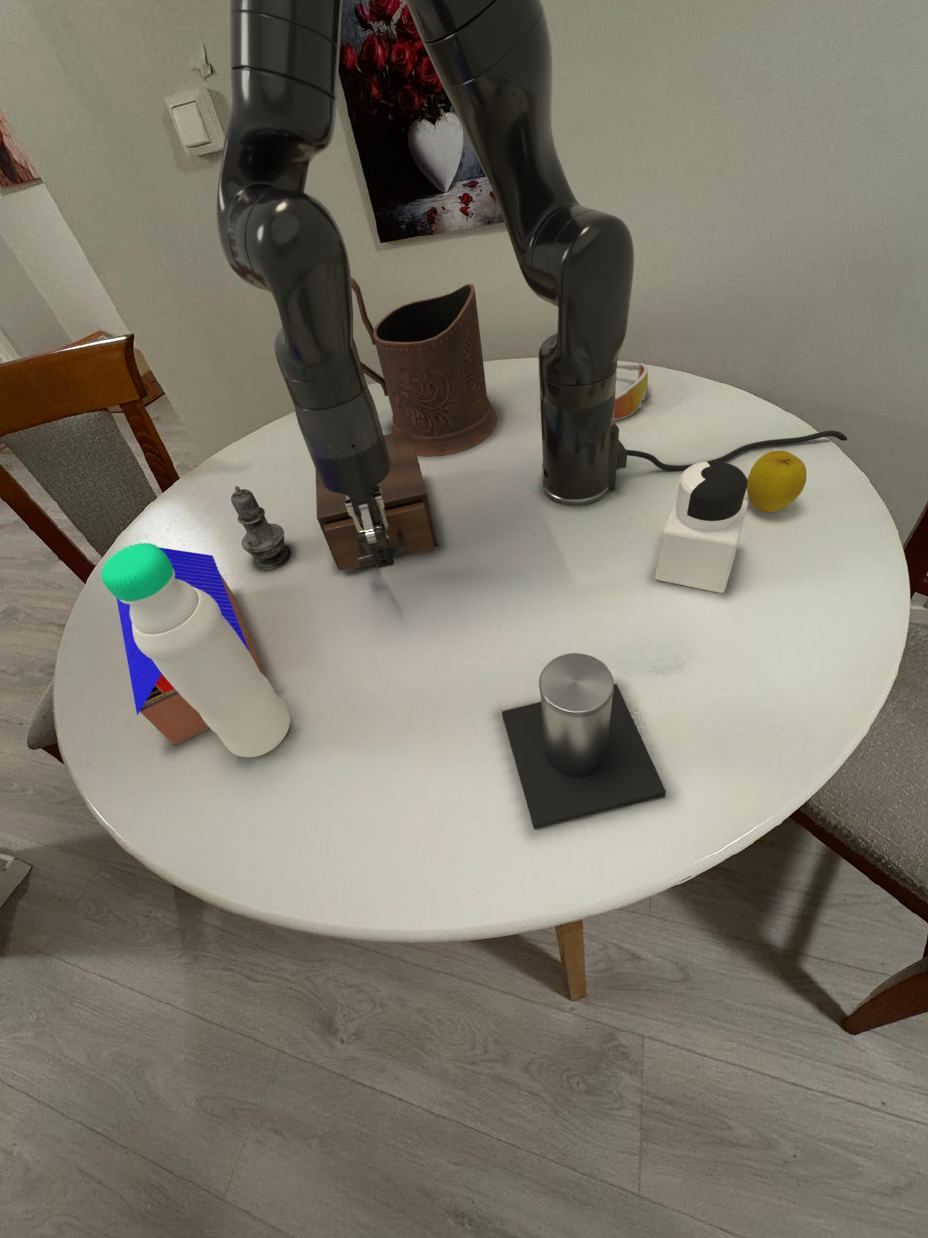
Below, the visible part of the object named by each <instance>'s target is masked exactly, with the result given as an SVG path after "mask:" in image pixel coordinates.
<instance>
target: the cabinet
mask: <svg viewBox="0 0 928 1238" xmlns="http://www.w3.org/2000/svg"><path fill="white" fill-rule="evenodd" d="M383 436H384V439H385V443H386V447H387V450H388V454H389V458H390V461H391V467H390V471H389V473H388V475H387V476H386V478H385V479H384V480H383V481H382V482H381V483H380V485H381V490H382V497H383V501H384V506H385V508H389V507H393V506H397V505H402V504H406V503H410V502H415V501H417V502H418V503H421V502H424V506H425V510H426V514H427V518H428V523H429V527H430V531H431V536H432V540H433V544H434V548H436V547H439V542H438V538H437V533H436V528H435V525H434V524H435V523H434V520H433V515H432V511H431V507H430V502H429V498H428V497H429V496H428V494H427V489H426V485H425V481H424V478H423V473H422V470H421V466H420V465H421V464H420V461H419V457H418V455H417V453H416V450H415V446H414V442H413V438H412V434H411V430H410V429H408V430H404V431H400V432H395V433H391V434H390V433H387V434H383ZM314 469H315V468H314ZM314 471H315V499H316V500H315V501H316V520H317V522H318V524H319V527H320V530H321V532H322V535H323V537H324V538H325V541H326V544H327V546H328V548H329V551H330V554H331V556H332V558H333V561H334V563H335V565H336V568H337V570H340V567H339V565H338V562H337V560H336V558H335V555H334V553H333V550H332V548H331V545H330V543H329V540H328V538H327V536H326V533H325V531H324V525H326V524H330V523H333V522H332V521H333V520H337V519H341V518H346V517H350V515H349V514H348V511H347V509H346V506H345V501H344V500H346V496H345V495H343V494H337V493H334V492H331V491H329V490H327V489H326V488H325V487H324V486H323V485H322V484H321V482H320V479H319V476H318V474H317V471H316V469H315V470H314Z"/></svg>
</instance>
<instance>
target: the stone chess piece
mask: <svg viewBox="0 0 928 1238" xmlns="http://www.w3.org/2000/svg"><path fill="white" fill-rule="evenodd" d="M230 502H231V504H232V506H233V508H234V510H235V512H236V513H237V515H238V516H237V522H238V523H239V524H241V525H242V526H243V528H244V530H245V532H246V533H245V535H244V536H243V537H242V540H241V547H242V549H243V550H244V551H245V552H247V553H248V554H249V555H251V556H252V557H253V564H254V566H255V567H256V568H257V569H259V570H262V571H270V570H274V569H278V568H279V567H281V566H283V565H285V564H286V563H287V562H288V561H289V560H290V558H291V556H292V550H291V547H290V546H289V545H287V544H285V530H284V528H283V527H282V526H281V525H279V524H277V523H269V522H268V519H267V518H266V516H265V515H266V510H265V509H264V508H263V507H261V506H260V505H259V504H258V501H257V499H256V497H255V495H254V493H253V491H251V490H249V489H247V488H241V487H240V486H238V485H235V487H234V492H233V493H232V494H231V496H230Z"/></svg>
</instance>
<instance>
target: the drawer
mask: <svg viewBox="0 0 928 1238" xmlns="http://www.w3.org/2000/svg"><path fill="white" fill-rule="evenodd" d="M385 511H386V518H387V523H388V530H387V535H389V543H390V546H391V549H392V552H393V557H394V560H395V559H400V558H403V557H408V556H410V555H411V556H412V555H415V554H419V553H423V552H427V551H432V550H435V547H434V544H433V540H432V536H431V531H430V527H429V523H428V518H427V514H426V510H425V506H424V502H421V503H418V502H417V501H415V502H410V503H406V504H402V505H397V506H393V507H389V508H385ZM332 522H333V523H330V524H326V525H324V531H325V533H326V536H327V538H328V540H329V543H330V545H331V548H332V550H333V553H334V555H335V558H336V560H337V562H338V565H339V567H340V569H339V570H340V571H347V570H351V569H355V568H359V567H360V568H361V567H367V566H371V565H373V564H374V565H375V561H374V558H373V555H372V552H369V553H368V552H367V551H366V550H365V549H364V547H363V546H362V545H361V543H360V541H358V538H357V536H358V531H357V529H356V526H355V523H354V521H353V518H352V517H351V516H350V517H346V518H341V519H337V520H333V521H332Z"/></svg>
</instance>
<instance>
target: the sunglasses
mask: <svg viewBox="0 0 928 1238" xmlns="http://www.w3.org/2000/svg"><path fill="white" fill-rule="evenodd" d="M617 369H622V370H627V371H638V372H637V379H636V381H635V382H634V383H632V385H630V386H629V387H627V388H626V389H625V390H624V391H623V392H622V393H620V394H619V395H617V396H616V395H615V409H614V421H619V420H623V419H627V418H628V417H631V416H632V415H634V414H635V413H636V412H637V411H638V410H639V408H640V406H641V404H642V402H644V401H645V400H646V397H647V391H648V383H649V375H648V371H649V367H648V364H645V363H644V362H640V363H623V364H617Z"/></svg>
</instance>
